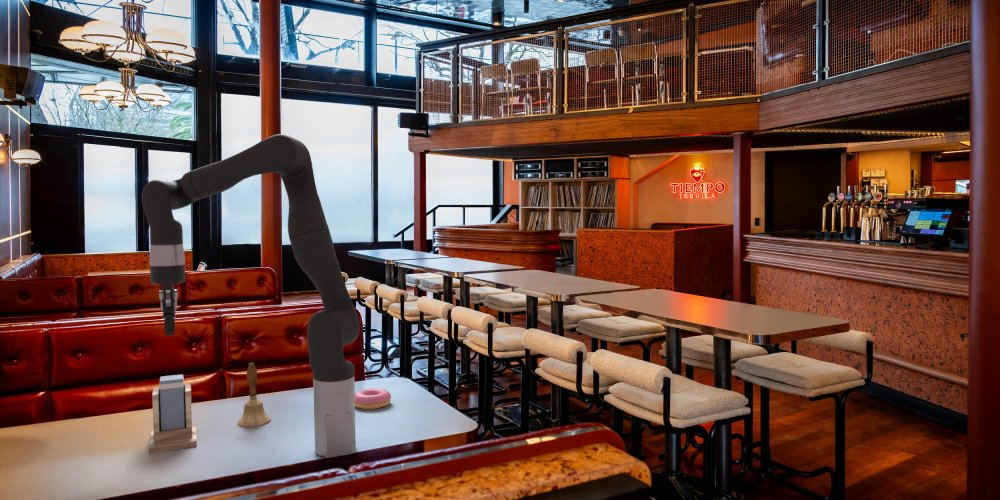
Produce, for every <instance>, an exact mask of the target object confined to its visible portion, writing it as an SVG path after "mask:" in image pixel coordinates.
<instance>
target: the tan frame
mask: <svg viewBox="0 0 1000 500" xmlns="http://www.w3.org/2000/svg"><path fill="white" fill-rule="evenodd" d="M191 384H192V383H184V415H185V428H179V429H172V430H164V431H161V404H160V386H156V387H155V386H154V387H153V389H152V390H153V391H152V395H151V397H152V400H151V401H152V421H153V423H152V425H153V429H151V433H150V439H149V446H148V453H149V454H152V453H158V452H164V451H165V452H166V451H173V450H179V449H186V448H193V447H197V446H198V445H197V444H198V440H197V424H196V423H195V424H194V423H193V417H192V414H193V413H192V411H193V410H192V388H191V387H192V385H191Z"/></svg>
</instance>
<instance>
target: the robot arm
mask: <svg viewBox="0 0 1000 500" xmlns="http://www.w3.org/2000/svg"><path fill="white" fill-rule="evenodd" d="M270 173H275V174H277V175H279V176H280V178H281V180H282V183H283V186H284V189H285V192H286V196H287V199H288V216H287V217H288V218H287V233H288V237H289V238H288V239H289V242H290V245H291V248H292V253H293V255H294V258H295V261H296V263H297V264H298V266H299V267H300V269H301V270H302V271H303V272H304V273H305V275H306V276H307V277H308V278H309V279H310V281H311V282H312V284H313V285H314V286H315V288H316V290H317V292H318V293H319V296H320V299H321V302H322V305H323V309H321V310H319V311H317V312H314V313H313V314H312V315H311V317H310V319H309V320H308V323H307V329H306V330H307V331H306V333H307V349H308V350H307V351H308V360H309V366H310V369H311V371H312V375H313V376H312V377H313V383H312V384H313V423H314V425H313V427H314V429H313V430H314V454H316V455H317V456H322V457H325V459H328V458H329V459H330V458H335V457H341V456H345V455H346V456H348V455H353V454H354V451H356V445H357V443H356V442H357V441H356V406H355V394H356V393H355V387H356V386H355V365H354V364H353V363H352V362H351V361H349V360H346V359H345V358H344V357H345V355H344V346H346V345H349V344H352V343H353V342H355V341H356V340H357V339H358V337H359V334H360V329H361V328H360V327H361V325H360V320H359V317H358V316H359V315H358V314H357V310H356V308H355V306H354V303H353V301H352V298H351V296H350V293H349V290H348V288H347V286H346V283H345V282H346V281H345V280H344V276H343V273H342V270H341V267H340V264H339V263H340V262H339V261H338V258H337V252H336V250H335V246H334V242H333V238H332V235H331V230H330V228H329V225H328V222H327V220H326V215H325V212H324V210H323V205H322V203H321V200H320V196H319V193H318V190H317V185H316V181H315V174H314V169H313V162H312V158H311V154H310V151H309V149H308V147H307V146H306V145H305V143H303V142H302V141H301V140H298V139H296V138H295V137H292V136H291V135H287V134H283V133H281V134H280V133H278V134H273V135H271V136H269V137H267V138H265V139H262V140H261V141H259V142H258V143H255V144H254V145H251V146H250V147H249V148H246V149H244V150H242V151H241V152H238V153H235V154H234V155H232V156H230V157H229V156H228V157H227V158H224V159H222V160H219V161H216V162H214V163H210V164H206V165H204V166H201V167H198V168H196V169H191V170H190V171H187V172H185V173H184V174H183V175H182V176H181V178H178V179H175V180H163V179H154V180H152V179H151V180H150V181H149V182H147V183H146V184H145V185H144V187H143V189H142V193H141V203H142V208H143V211H144V214H145V218H146V220H147V224H148V225H149V241H150V243H149V244H150V245H149V246H150V247H149V278H150V279H149V280H150V283H151V284H153V285H161V286H162V290H159V291H158V298H159V300H160V311H162V319H163V321H164V322H163V323H164V324H163V325H164V335H165V336H174V335H175V334H176V327H175V326H176V310H177V309H178V296H179V292H178V291H179V290H178V289H175V284H182V283H185V282H186V258H185V257H186V256H185V249H184V235H183V225H182V223H181V222H180V221H178V220H177V219H175V217H174V214H173V211H175V210H179V209H182V208H185V207H188V206H190V205H192V204H194V203H196V202H197V201H199V200H202V199H206V198H209V197H212V196H215V195H218V194H220V193H223V192H225V191H228V190H229V189H232V188H233V187H234V186H236V185H237V184H239V183H240V182H242V181H244V180H246V179H249V178H250V177H254V176H258V175H264V174H270Z"/></svg>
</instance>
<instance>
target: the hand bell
mask: <svg viewBox="0 0 1000 500" xmlns="http://www.w3.org/2000/svg"><path fill="white" fill-rule="evenodd" d="M246 379H247V383H248V387H249V399H248V401H246V402H245V403H244V407H243V408H244V409H243V414H242V416H241V418H240V419H238V421H237V425H238V427H243V428H252V427H260V426H263V425H266V424H267V425H268V423H270V422H271V417H270V416H269V415H267V413H266V411H265V409H264V404H263V401H262V400H261V399H258V398H257V397H258V396H257V387H256V386H257V381H258V371H257V368H256V365H255V362H249V363H248V367H247V369H246Z"/></svg>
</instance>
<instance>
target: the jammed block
mask: <svg viewBox="0 0 1000 500" xmlns="http://www.w3.org/2000/svg"><path fill="white" fill-rule="evenodd" d="M184 384H185V379H184V374H172V375H165V376H164V375H163V376H160V378H159V387H160V404H161V431H164V430H172V429H179V428H185V415H184Z"/></svg>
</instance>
